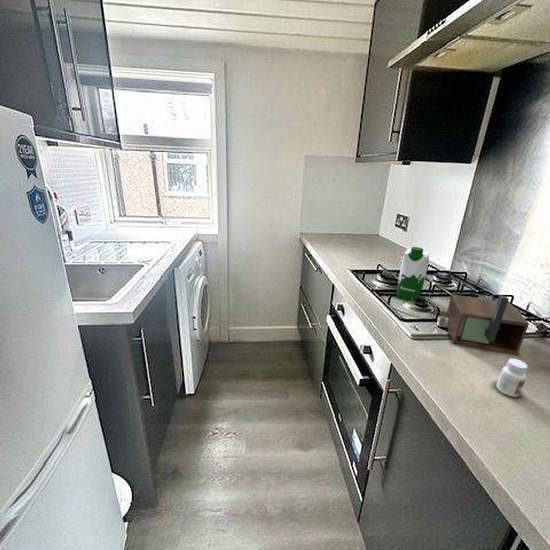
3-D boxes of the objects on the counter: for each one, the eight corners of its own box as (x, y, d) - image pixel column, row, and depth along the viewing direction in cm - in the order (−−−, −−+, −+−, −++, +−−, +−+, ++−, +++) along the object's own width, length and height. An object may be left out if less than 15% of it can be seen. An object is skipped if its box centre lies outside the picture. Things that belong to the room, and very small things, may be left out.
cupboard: (500, 330, 96) (509, 302, 92) (517, 354, 84) (529, 323, 80) (444, 321, 100) (451, 294, 97) (453, 343, 88) (461, 313, 85)
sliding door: (487, 343, 87) (504, 293, 81) (492, 350, 83) (510, 299, 78) (460, 338, 89) (475, 289, 83) (463, 345, 85) (479, 295, 80)
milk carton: (393, 297, 117) (403, 247, 110) (398, 289, 124) (408, 242, 117) (418, 303, 112) (429, 252, 105) (421, 295, 120) (433, 246, 112)
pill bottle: (520, 400, 68) (531, 372, 65) (496, 392, 70) (506, 364, 67) (517, 388, 71) (528, 361, 68) (495, 381, 73) (505, 354, 71)
